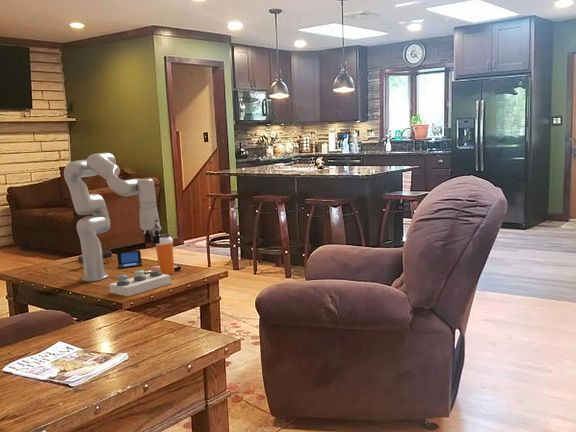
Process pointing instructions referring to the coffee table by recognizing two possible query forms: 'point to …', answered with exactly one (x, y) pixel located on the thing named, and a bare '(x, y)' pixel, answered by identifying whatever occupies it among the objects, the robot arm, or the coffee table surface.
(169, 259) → the shaker bottle
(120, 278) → the button slate
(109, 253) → the bomb
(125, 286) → the button panel
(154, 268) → the button terracotta
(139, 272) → the button sage
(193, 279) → the coffee table surface
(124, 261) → the object
